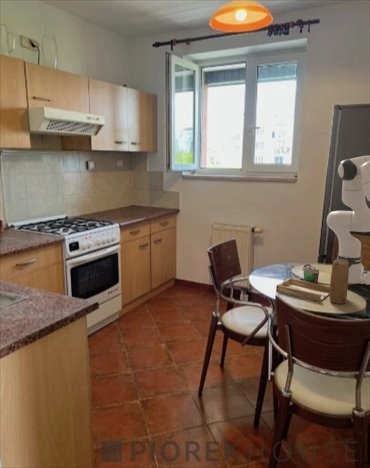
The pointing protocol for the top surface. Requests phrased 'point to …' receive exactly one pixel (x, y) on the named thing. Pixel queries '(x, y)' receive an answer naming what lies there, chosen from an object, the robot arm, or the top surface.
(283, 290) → the wooden tray
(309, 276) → the food container
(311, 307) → the top surface
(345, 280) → the block
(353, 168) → the robot arm
